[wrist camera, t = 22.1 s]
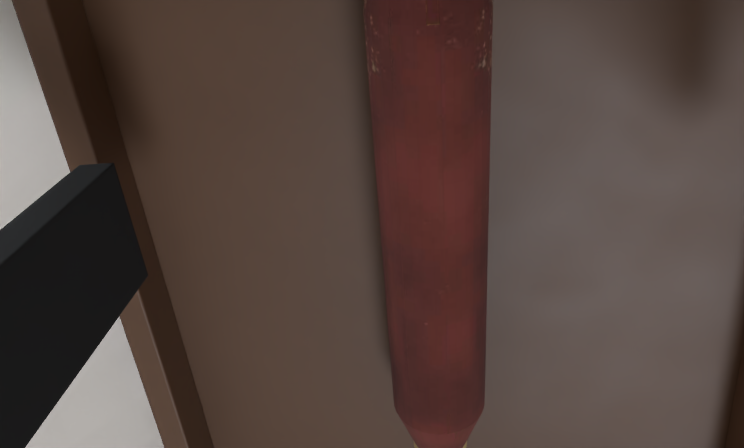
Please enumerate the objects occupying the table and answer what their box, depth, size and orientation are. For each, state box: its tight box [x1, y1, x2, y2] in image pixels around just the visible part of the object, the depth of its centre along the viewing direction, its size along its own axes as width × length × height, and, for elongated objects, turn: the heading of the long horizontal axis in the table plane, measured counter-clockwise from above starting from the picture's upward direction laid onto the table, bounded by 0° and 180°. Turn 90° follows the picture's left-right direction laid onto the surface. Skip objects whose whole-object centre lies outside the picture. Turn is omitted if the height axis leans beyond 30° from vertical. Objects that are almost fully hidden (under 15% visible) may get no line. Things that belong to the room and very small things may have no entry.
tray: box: [12, 0, 744, 448], centre depth 16 cm, size 27×18×2 cm, turn 6°
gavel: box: [363, 0, 493, 448], centre depth 15 cm, size 21×5×10 cm
